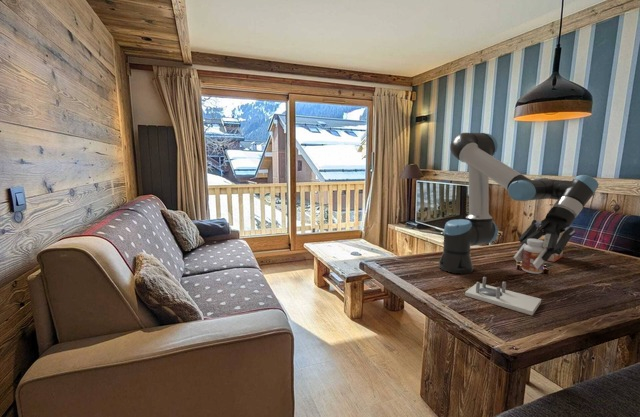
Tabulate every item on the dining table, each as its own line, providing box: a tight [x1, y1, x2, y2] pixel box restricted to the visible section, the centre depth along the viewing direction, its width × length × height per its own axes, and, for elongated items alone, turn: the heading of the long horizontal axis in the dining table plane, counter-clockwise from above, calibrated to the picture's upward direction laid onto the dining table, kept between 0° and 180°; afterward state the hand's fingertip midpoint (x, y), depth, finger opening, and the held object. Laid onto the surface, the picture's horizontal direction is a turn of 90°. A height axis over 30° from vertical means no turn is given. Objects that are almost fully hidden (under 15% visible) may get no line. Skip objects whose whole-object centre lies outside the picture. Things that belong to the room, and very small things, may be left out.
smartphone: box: [519, 257, 555, 269], centre depth 154 cm, size 8×1×15 cm
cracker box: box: [542, 231, 565, 263], centre depth 159 cm, size 14×6×21 cm, turn 128°
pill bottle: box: [521, 238, 545, 275], centre depth 106 cm, size 6×6×11 cm
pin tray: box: [464, 276, 542, 316], centre depth 115 cm, size 22×13×6 cm, turn 44°
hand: (525, 262), depth 105 cm, fingers closed on pill bottle, 6 cm apart
